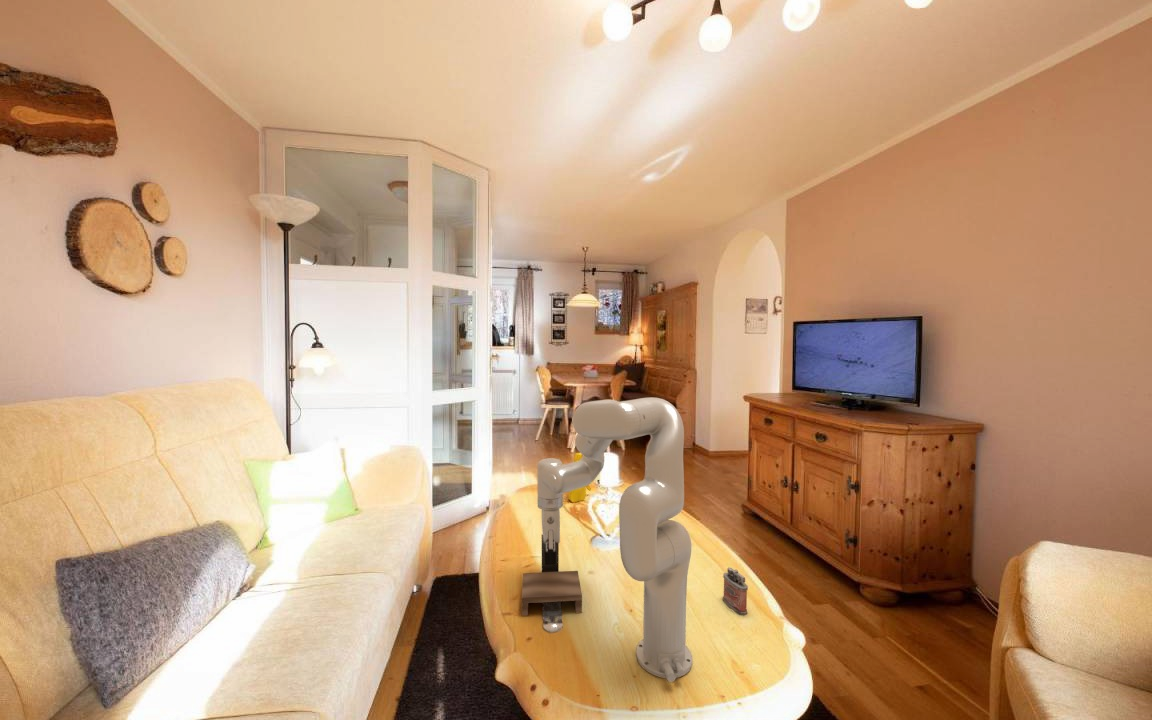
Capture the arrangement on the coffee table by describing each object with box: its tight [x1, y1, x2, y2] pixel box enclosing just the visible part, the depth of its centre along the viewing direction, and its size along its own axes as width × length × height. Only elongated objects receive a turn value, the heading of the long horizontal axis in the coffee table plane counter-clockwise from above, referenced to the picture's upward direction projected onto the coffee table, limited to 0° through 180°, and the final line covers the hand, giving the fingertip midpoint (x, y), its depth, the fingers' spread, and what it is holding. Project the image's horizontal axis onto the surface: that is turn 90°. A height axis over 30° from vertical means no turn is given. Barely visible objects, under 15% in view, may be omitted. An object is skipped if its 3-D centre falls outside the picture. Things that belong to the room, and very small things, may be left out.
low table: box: [521, 570, 583, 617], centre depth 121 cm, size 12×16×5 cm
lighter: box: [722, 566, 749, 617], centre depth 119 cm, size 8×3×10 cm, turn 21°
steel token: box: [542, 616, 564, 634], centre depth 111 cm, size 5×5×1 cm
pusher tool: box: [541, 533, 563, 621], centre depth 122 cm, size 19×5×14 cm, turn 5°
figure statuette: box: [567, 452, 592, 503], centre depth 196 cm, size 18×8×22 cm, turn 118°
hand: (550, 560), depth 130 cm, fingers closed on pusher tool, 2 cm apart
